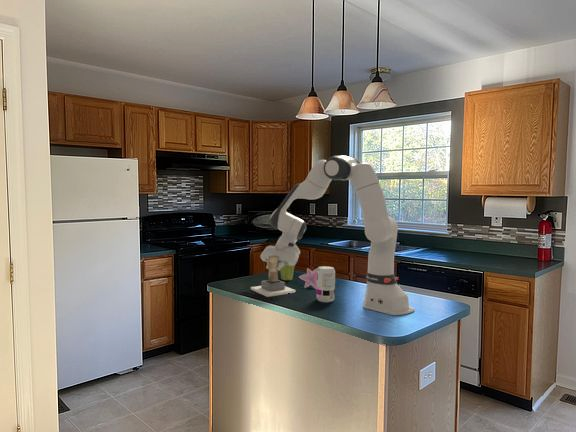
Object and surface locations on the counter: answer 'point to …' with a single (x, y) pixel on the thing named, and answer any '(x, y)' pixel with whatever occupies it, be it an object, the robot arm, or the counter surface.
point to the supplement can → (325, 284)
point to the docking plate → (272, 288)
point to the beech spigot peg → (273, 269)
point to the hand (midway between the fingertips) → (272, 269)
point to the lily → (310, 278)
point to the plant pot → (287, 272)
